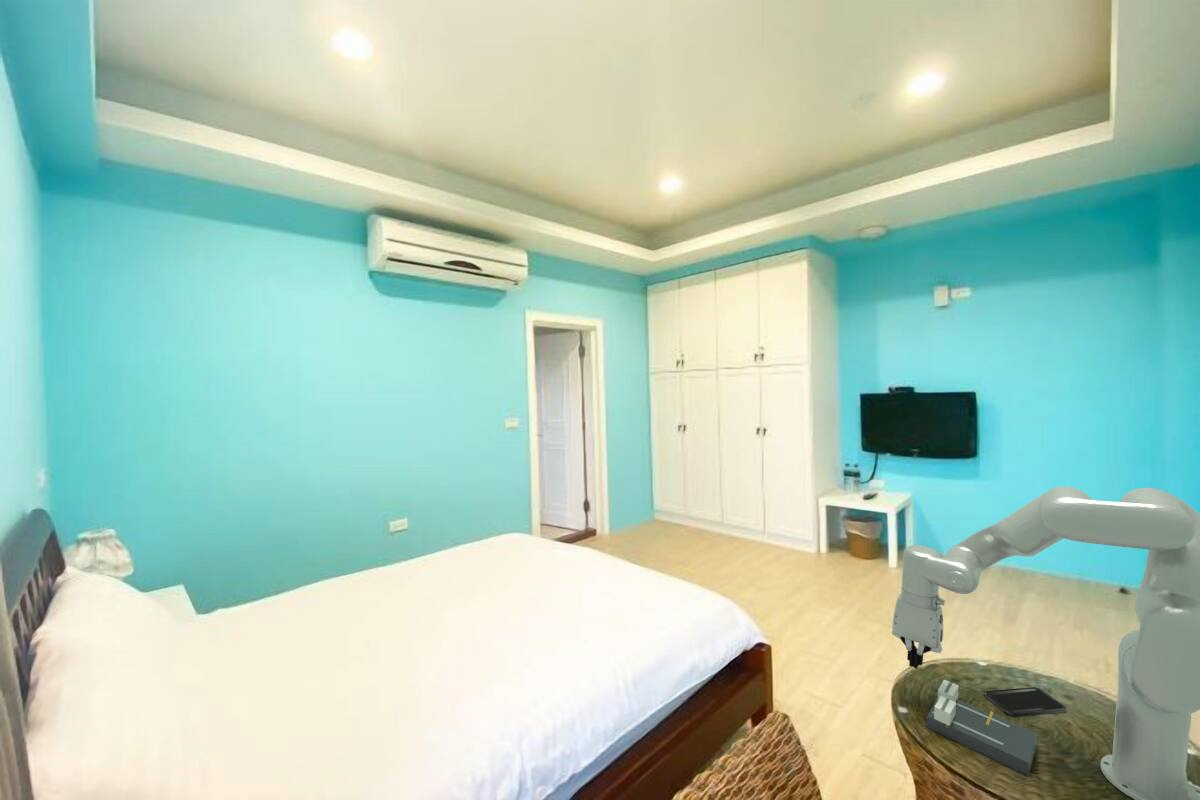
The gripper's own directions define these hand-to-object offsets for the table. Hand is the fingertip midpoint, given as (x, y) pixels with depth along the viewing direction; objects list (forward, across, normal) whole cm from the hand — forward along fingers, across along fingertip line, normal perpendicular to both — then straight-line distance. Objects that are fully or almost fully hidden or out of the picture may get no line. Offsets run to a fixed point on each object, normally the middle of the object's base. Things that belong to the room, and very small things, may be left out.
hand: (914, 664), depth 122 cm
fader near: (+5, -8, +7) cm, 12 cm away
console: (+8, -14, +3) cm, 17 cm away
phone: (+9, -19, -17) cm, 27 cm away
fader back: (+5, -7, 0) cm, 9 cm away
